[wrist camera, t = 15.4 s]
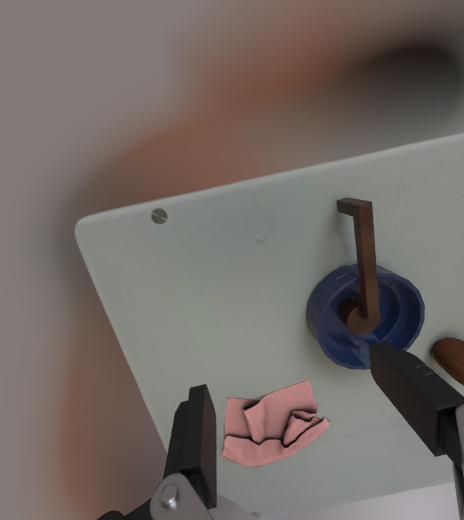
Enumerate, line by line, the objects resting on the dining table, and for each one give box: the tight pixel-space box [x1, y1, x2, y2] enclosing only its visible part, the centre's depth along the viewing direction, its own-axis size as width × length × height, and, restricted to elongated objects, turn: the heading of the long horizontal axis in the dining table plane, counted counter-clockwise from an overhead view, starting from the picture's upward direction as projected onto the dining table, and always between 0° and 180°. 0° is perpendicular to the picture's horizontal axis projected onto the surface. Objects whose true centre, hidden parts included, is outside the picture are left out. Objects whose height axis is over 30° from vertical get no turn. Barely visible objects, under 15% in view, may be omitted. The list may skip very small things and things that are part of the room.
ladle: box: [337, 198, 381, 334], centre depth 34 cm, size 21×5×6 cm, turn 15°
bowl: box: [307, 264, 425, 370], centre depth 38 cm, size 16×16×5 cm
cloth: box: [221, 380, 331, 467], centre depth 45 cm, size 20×22×2 cm
